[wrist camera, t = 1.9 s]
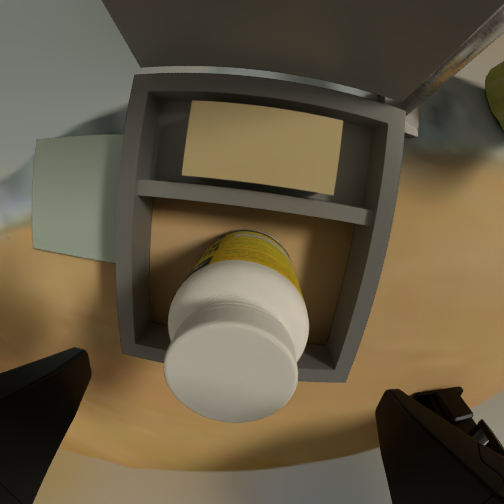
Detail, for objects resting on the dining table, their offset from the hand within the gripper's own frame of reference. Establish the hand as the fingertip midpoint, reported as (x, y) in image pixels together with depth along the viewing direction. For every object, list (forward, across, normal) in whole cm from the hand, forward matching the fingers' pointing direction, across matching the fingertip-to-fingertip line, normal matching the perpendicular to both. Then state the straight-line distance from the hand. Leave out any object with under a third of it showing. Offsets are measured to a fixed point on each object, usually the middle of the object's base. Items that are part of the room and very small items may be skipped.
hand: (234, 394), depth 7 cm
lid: (0, 0, -13) cm, 13 cm away
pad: (+10, +12, -4) cm, 16 cm away
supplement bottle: (+10, 0, 0) cm, 11 cm away
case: (+10, 0, -3) cm, 11 cm away
